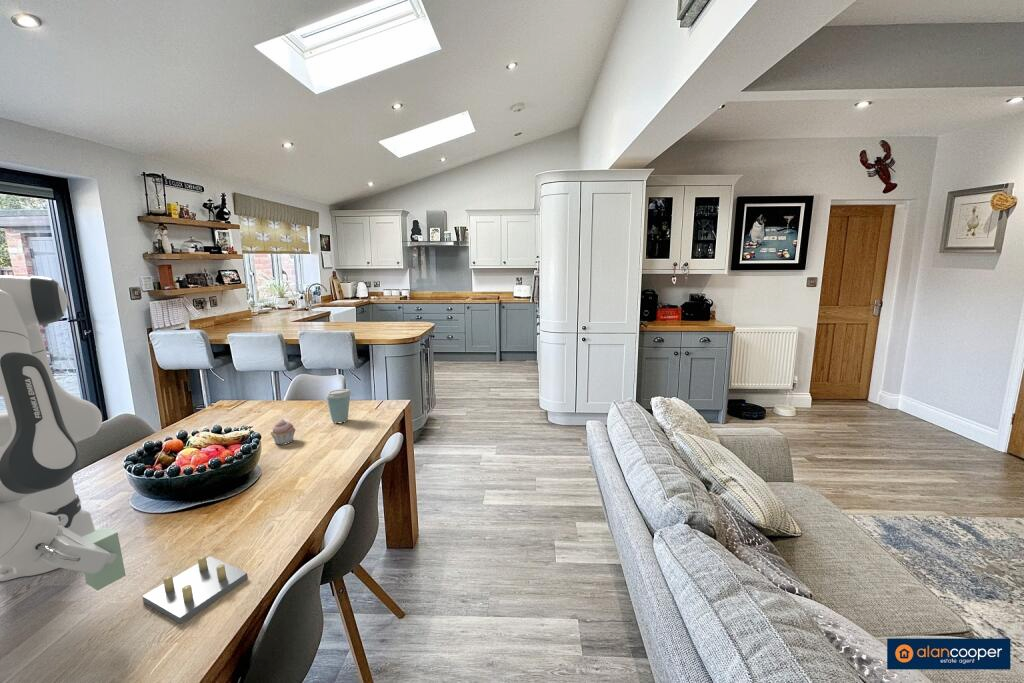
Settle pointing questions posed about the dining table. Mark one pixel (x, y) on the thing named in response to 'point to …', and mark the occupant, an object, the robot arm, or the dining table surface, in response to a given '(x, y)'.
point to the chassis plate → (194, 588)
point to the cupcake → (283, 432)
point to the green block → (110, 572)
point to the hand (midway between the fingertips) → (105, 553)
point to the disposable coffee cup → (338, 404)
